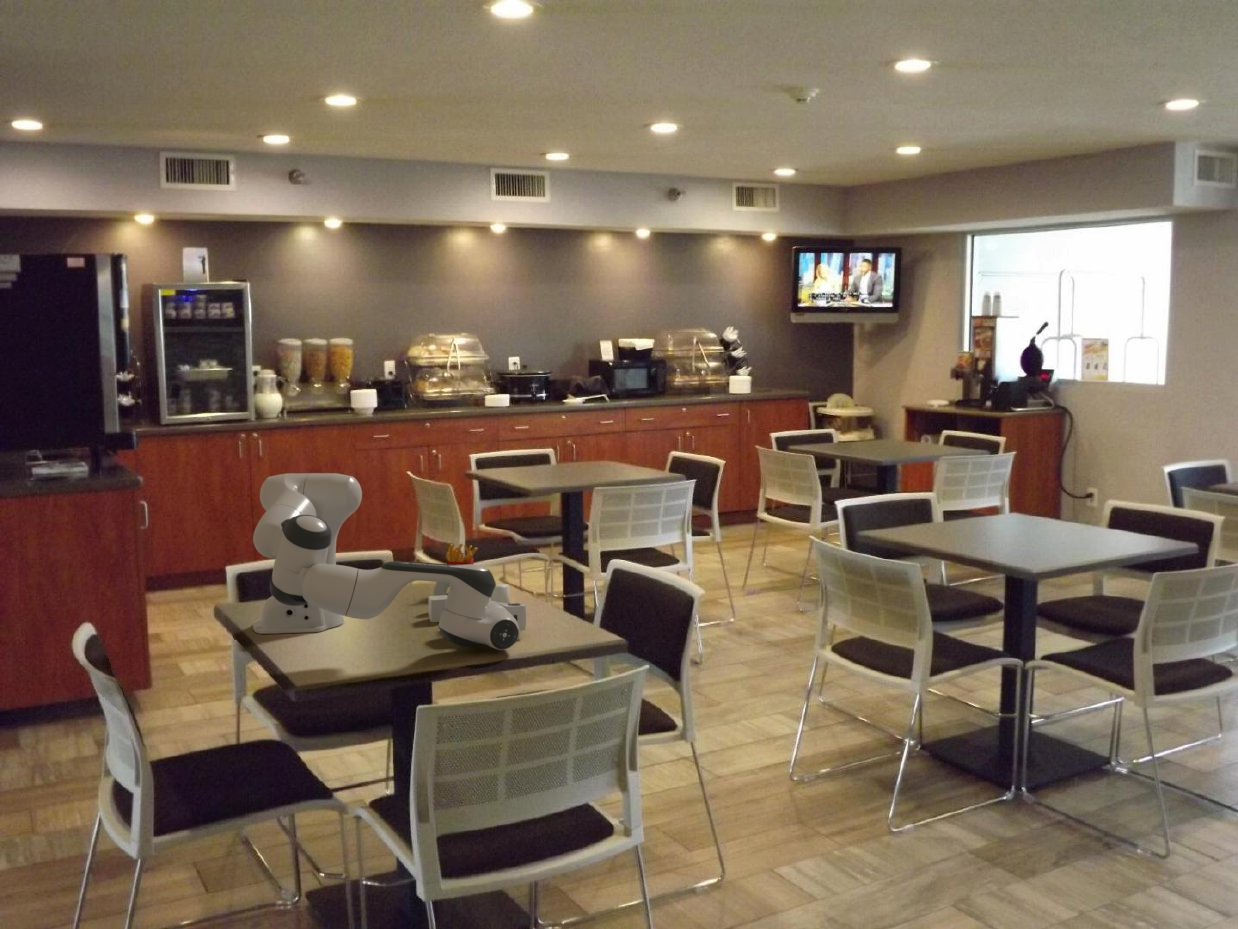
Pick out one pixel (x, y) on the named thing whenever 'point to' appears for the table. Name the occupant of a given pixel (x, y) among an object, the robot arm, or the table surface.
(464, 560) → the french fries
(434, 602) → the grey cube
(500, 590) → the white canister
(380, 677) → the table surface
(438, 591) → the donut
